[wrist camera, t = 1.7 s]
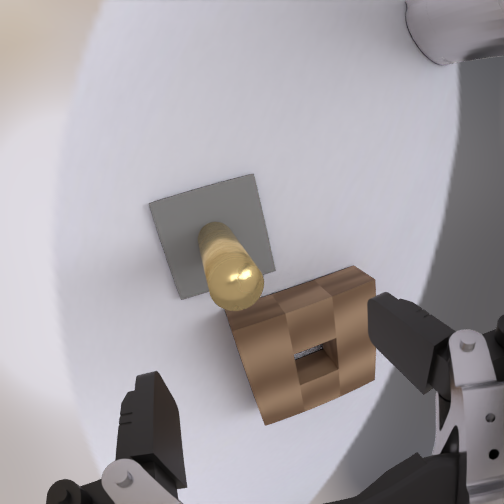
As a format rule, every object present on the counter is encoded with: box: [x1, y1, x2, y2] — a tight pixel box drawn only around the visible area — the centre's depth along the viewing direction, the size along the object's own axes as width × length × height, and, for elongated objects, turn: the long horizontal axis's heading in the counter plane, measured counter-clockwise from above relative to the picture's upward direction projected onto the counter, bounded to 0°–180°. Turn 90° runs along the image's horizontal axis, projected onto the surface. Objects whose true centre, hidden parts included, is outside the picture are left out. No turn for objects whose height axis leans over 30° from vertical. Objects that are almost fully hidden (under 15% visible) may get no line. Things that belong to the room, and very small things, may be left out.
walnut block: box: [225, 266, 376, 426], centre depth 29 cm, size 14×14×4 cm
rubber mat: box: [149, 174, 276, 300], centre depth 25 cm, size 9×9×1 cm
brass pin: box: [198, 222, 264, 311], centre depth 20 cm, size 3×3×10 cm
